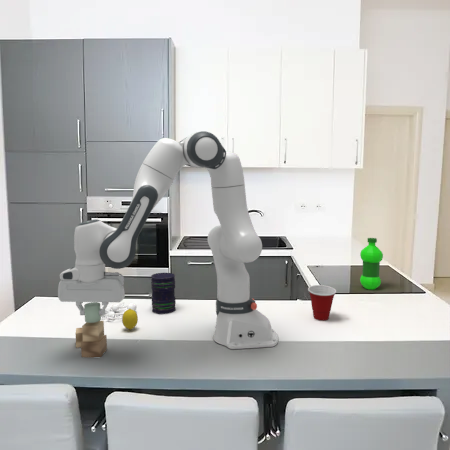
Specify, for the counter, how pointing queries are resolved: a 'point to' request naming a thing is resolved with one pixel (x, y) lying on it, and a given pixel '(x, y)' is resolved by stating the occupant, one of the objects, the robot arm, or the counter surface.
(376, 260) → the plastic bottle
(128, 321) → the lemon
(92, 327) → the tower block top
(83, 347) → the tower block base
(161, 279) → the storage jar
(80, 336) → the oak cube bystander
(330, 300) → the plastic cup
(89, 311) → the sage green cylinder
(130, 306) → the tangled rod sculpture
